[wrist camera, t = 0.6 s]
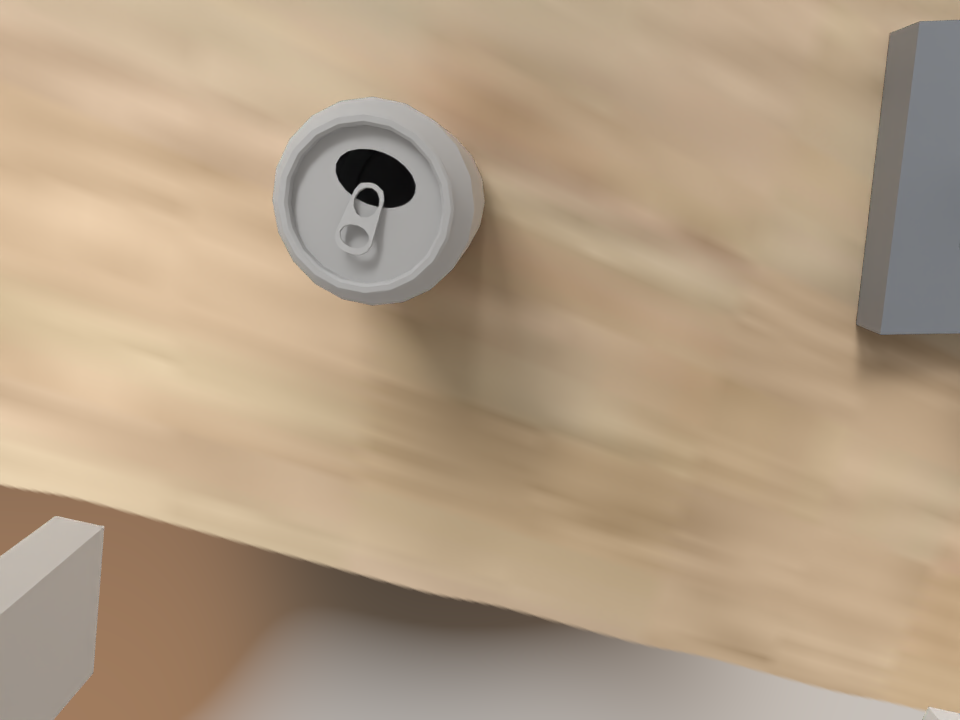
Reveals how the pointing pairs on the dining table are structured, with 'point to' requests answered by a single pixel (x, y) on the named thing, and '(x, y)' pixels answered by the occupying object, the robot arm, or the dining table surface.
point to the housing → (916, 188)
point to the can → (376, 200)
